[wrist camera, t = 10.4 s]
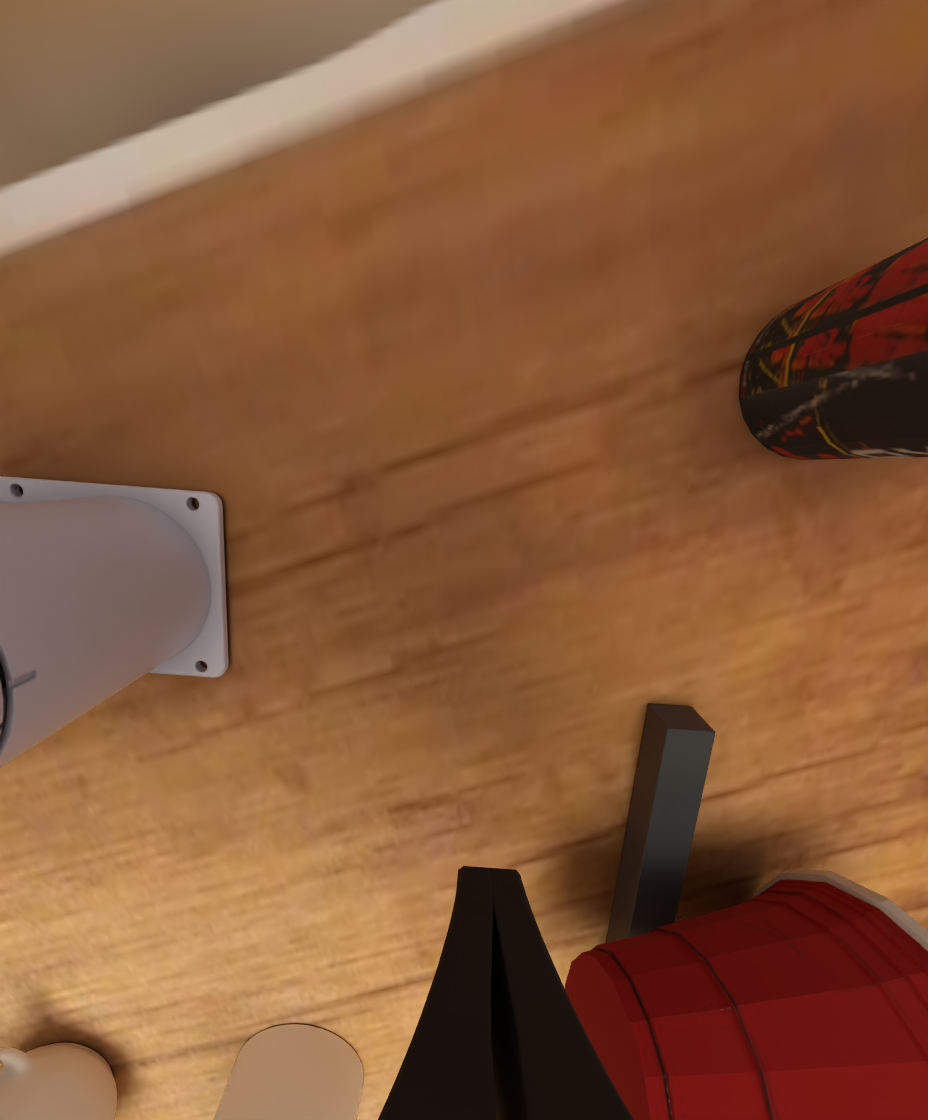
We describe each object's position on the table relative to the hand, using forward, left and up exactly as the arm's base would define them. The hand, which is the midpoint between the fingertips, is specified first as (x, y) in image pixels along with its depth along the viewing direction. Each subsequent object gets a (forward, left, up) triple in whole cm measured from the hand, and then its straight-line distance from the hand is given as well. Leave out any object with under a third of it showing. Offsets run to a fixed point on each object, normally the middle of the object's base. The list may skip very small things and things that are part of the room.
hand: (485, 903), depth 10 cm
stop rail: (+9, -9, -10) cm, 16 cm away
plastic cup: (+4, -9, -3) cm, 11 cm away
